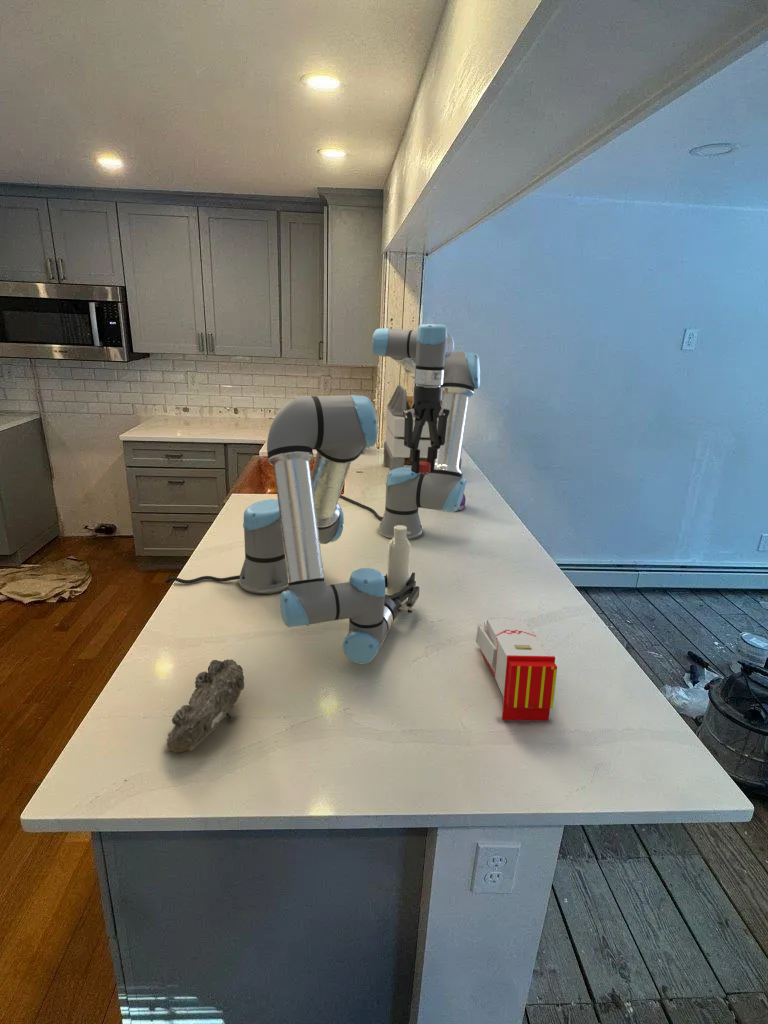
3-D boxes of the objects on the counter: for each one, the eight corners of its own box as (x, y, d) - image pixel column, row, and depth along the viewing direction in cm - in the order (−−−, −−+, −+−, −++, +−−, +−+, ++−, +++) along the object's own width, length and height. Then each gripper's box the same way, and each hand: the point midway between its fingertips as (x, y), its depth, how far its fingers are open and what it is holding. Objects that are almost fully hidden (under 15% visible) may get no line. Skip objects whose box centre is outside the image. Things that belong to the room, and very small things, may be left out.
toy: (523, 604, 135) (566, 662, 106) (518, 656, 138) (559, 727, 109) (472, 603, 135) (501, 661, 105) (468, 655, 138) (496, 726, 108)
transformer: (382, 463, 289) (386, 382, 275) (445, 464, 293) (451, 384, 279) (390, 482, 257) (394, 392, 243) (460, 483, 261) (468, 394, 247)
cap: (413, 472, 155) (413, 464, 155) (416, 468, 160) (417, 460, 159) (428, 473, 154) (429, 465, 154) (431, 469, 158) (432, 462, 158)
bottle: (406, 600, 155) (411, 523, 147) (406, 610, 149) (411, 531, 142) (385, 599, 155) (389, 522, 147) (385, 609, 149) (389, 530, 142)
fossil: (192, 660, 117) (244, 628, 112) (224, 691, 120) (276, 661, 115) (142, 746, 98) (202, 712, 93) (182, 779, 101) (242, 748, 96)
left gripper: (340, 623, 137) (369, 582, 158) (415, 637, 133) (434, 593, 154) (341, 595, 134) (370, 557, 156) (417, 609, 130) (436, 568, 151)
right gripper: (407, 388, 142) (402, 477, 150) (463, 386, 150) (456, 472, 158) (392, 384, 148) (388, 470, 156) (448, 383, 156) (441, 465, 164)
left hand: (402, 575), depth 155 cm, fingers closed on bottle, 6 cm apart
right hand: (422, 471), depth 157 cm, fingers closed on cap, 4 cm apart
